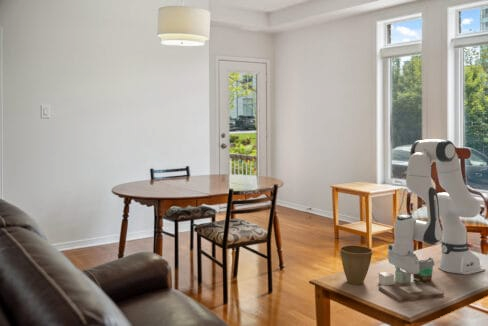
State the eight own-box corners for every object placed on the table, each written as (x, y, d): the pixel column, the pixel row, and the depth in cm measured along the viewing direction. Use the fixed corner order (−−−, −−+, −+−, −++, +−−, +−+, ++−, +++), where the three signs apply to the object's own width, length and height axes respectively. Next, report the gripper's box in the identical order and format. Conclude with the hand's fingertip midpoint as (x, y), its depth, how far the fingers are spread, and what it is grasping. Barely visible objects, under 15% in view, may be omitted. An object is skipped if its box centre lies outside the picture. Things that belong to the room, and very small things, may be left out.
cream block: (387, 282, 225) (388, 271, 224) (394, 285, 220) (394, 275, 220) (378, 283, 224) (378, 272, 223) (384, 286, 219) (384, 276, 218)
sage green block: (404, 279, 227) (404, 269, 227) (410, 283, 223) (411, 272, 222) (395, 281, 226) (395, 270, 226) (401, 284, 221) (401, 274, 221)
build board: (420, 284, 221) (420, 280, 221) (443, 296, 206) (443, 292, 206) (378, 289, 215) (379, 285, 215) (399, 302, 200) (399, 298, 200)
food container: (421, 285, 220) (421, 264, 219) (411, 281, 225) (411, 260, 224) (439, 280, 226) (440, 260, 225) (429, 277, 231) (429, 257, 230)
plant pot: (356, 289, 215) (356, 255, 214) (333, 280, 228) (333, 248, 226) (378, 283, 223) (379, 250, 222) (355, 274, 236) (356, 243, 234)
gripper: (423, 254, 214) (422, 284, 215) (396, 243, 233) (396, 270, 235) (411, 255, 212) (410, 285, 213) (385, 244, 232) (385, 271, 233)
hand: (403, 277), depth 224 cm, fingers closed on sage green block, 5 cm apart
